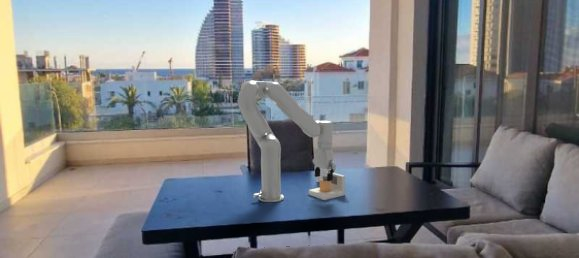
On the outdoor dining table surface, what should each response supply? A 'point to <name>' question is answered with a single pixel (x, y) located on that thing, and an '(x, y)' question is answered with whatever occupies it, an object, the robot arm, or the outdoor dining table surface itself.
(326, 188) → the plug
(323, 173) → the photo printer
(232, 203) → the outdoor dining table surface
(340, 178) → the socket
